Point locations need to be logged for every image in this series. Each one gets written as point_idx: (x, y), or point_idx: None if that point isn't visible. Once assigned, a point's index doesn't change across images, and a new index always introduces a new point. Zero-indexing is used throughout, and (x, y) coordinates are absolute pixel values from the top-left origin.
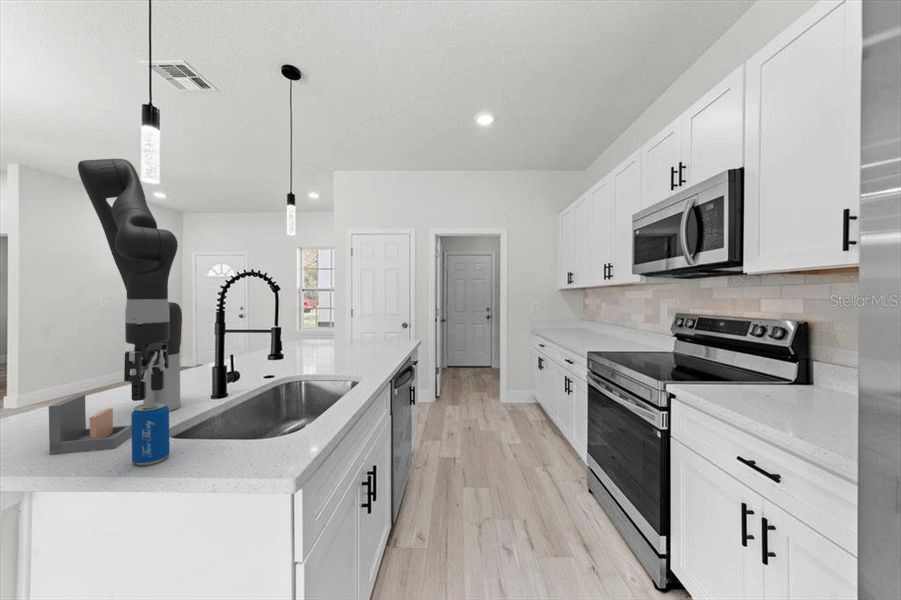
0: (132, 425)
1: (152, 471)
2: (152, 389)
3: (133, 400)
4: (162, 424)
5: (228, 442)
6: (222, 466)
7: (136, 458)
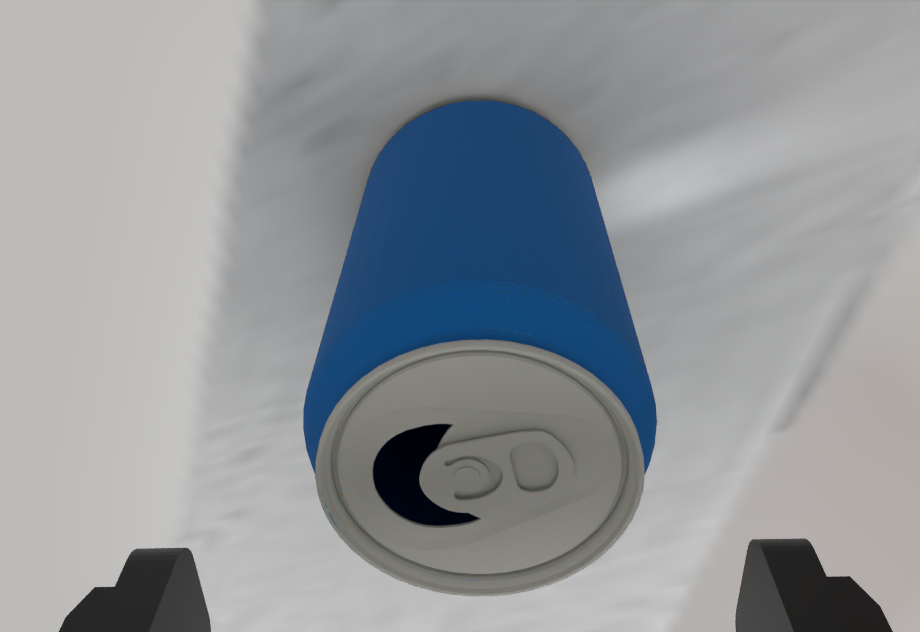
0: (365, 268)
1: (283, 285)
2: (757, 551)
3: (141, 554)
4: (408, 465)
5: (667, 538)
6: (296, 586)
7: (368, 180)
